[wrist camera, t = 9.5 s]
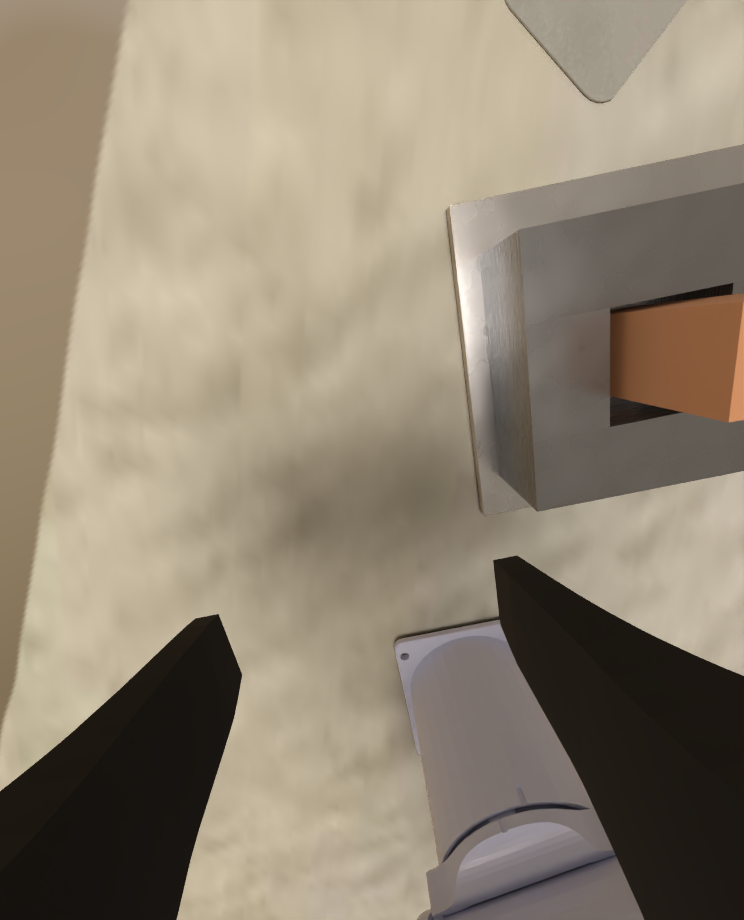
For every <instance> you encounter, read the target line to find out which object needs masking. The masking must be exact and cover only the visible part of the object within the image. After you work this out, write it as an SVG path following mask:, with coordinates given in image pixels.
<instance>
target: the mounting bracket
mask: <svg viewBox="0 0 744 920" xmlns="http://www.w3.org/2000/svg"><path fill="white" fill-rule="evenodd" d="M686 1H687V0H505V2H506V4H507V6H508V7H509V9H510V10H511V12H512V13H513V14H514V15H515V16H516V17H517V18H518V20H519V21H520V22H521V23H522V24H523V25H524V27H525V28H526V29H527V30H528V31H529V32H530V33H531V35H532V36H533V37H534V38H535V39H536V40H537V41H538V43H539V44H540V45H541V46H542V47H543V48H544V50H545V51H546V52H547V53H548V54H549V55H550V56H551V58H552V59H553V60H554V61H555V62H556V63H557V64H558V66H559V67H560V68H561V69H562V70H563V71H564V73H565V74H566V75H567V76H568V77H569V78H570V79H571V81H572V82H573V83H574V84H575V85H576V86H577V88H578V89H579V90H580V91H581V92H582V93H583V94H584V96H586V97H587V98H588V99H590V100H592V101H594V102H597V103H603V102H607V101H610V100H611V99H612V98H613V97H614V96H615V94H616V93H617V92H618V90H619V89H620V88H621V86H622V85H623V84H624V82H625V81H626V80H627V79H628V77H629V76H630V75H631V73H632V72H633V71H634V69H635V68H636V67H637V65H638V64H639V63H640V61H641V60H642V59H643V57H644V56H645V55H646V53H647V52H648V51H649V49H650V48H651V47H652V46H653V44H654V43H655V42H656V40H657V39H658V38H659V36H660V35H661V34H662V32H663V31H664V30H665V28H666V27H667V26H668V24H669V23H670V22H671V20H672V19H673V18H674V16H675V15H676V14H677V13H678V11H679V10H680V9H681V7H682V6H683V5H684V3H685V2H686Z"/></svg>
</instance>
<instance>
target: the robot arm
mask: <svg viewBox="0 0 744 920" xmlns="http://www.w3.org/2000/svg"><path fill="white" fill-rule="evenodd" d="M493 562H494V571H495V580H496V589H497V599H498V608H499V617H500V620H495V621H489V622H484V623H479V624H474V625H469V626H464V627H459V628H453V629H448V630H443V631H438V632H433V633H428V634H422V635H417V636H412V637H407V638H402V639H399V640H397V641H396V642H395V644H394V649H395V654H396V659H397V663H398V668H399V672H400V677H401V681H402V686H403V690H404V695H405V699H406V704H407V708H408V713H409V717H410V722H411V726H412V731H413V735H414V740H415V744H416V749H417V753H418V755H419V756H421V758H422V764H423V770H424V776H425V782H426V788H427V794H428V800H429V806H430V812H431V818H432V825H433V831H434V837H435V843H436V849H437V855H438V861H439V866H437V867H436V868H434V869H431V870H429V871H428V872H427V873H426V875H427V883H428V890H429V897H430V905H431V909H430V910H427V911H425V912H423V913H422V914H421V915H419V917H418V919H417V920H744V676H742V675H740V674H737V673H735V672H732V671H730V670H727V669H725V668H723V667H720V666H718V665H716V664H713V663H711V662H709V661H706V660H704V659H702V658H699V657H697V656H695V655H693V654H691V653H689V652H686V651H684V650H682V649H680V648H678V647H676V646H674V645H671V644H669V643H667V642H665V641H663V640H661V639H659V638H657V637H655V636H653V635H651V634H649V633H647V632H645V631H643V630H641V629H639V628H637V627H635V626H633V625H631V624H629V623H627V622H626V621H624V620H622V619H620V618H618V617H616V616H614V615H613V614H611V613H609V612H607V611H605V610H604V609H602V608H600V607H598V606H597V605H595V604H593V603H591V602H590V601H588V600H586V599H585V598H583V597H581V596H580V595H578V594H576V593H575V592H573V591H571V590H570V589H568V588H567V587H565V586H563V585H562V584H560V583H559V582H557V581H556V580H554V579H552V578H551V577H549V576H548V575H546V574H545V573H543V572H542V571H540V570H539V569H537V568H535V567H534V566H532V565H531V564H529V563H528V562H526V561H525V560H523V559H522V558H520V557H518V556H513V557H507V558H502V559H497V560H493ZM403 653H407V654H405V655H402V654H403ZM241 678H242V673H241V671H240V668H239V666H238V663H237V660H236V658H235V655H234V653H233V650H232V648H231V645H230V643H229V640H228V637H227V635H226V632H225V630H224V627H223V625H222V622H221V620H220V617H219V614H217V615H212V616H207V617H201V618H196V619H195V620H193V621H192V622H191V623H190V624H189V625H187V626H186V627H185V628H184V629H183V630H182V631H181V632H180V633H179V634H177V635H176V636H175V637H174V638H173V639H172V640H171V641H170V642H169V643H168V644H167V645H166V646H165V647H164V648H163V649H162V650H161V651H160V652H159V653H158V654H156V655H155V656H154V657H153V658H152V659H151V660H150V661H149V662H148V663H147V664H146V665H145V666H144V667H143V668H142V669H141V670H140V671H139V672H138V673H137V674H136V675H135V676H133V677H132V678H131V679H130V680H129V681H128V682H127V683H126V684H125V685H124V686H123V687H122V688H121V689H120V690H119V691H118V692H117V693H115V694H114V695H113V696H112V697H111V698H110V699H109V700H108V701H107V702H105V703H104V704H103V705H102V706H101V707H100V708H99V709H98V710H97V711H95V712H94V713H93V714H92V715H91V716H90V717H89V718H88V719H87V720H85V721H84V722H83V723H82V724H81V725H80V726H79V727H78V728H77V729H76V730H74V731H73V732H72V733H71V734H70V735H69V736H68V737H66V738H65V739H64V740H63V741H62V742H61V743H59V744H58V745H57V746H56V747H55V748H53V749H52V750H51V751H50V752H49V753H47V754H46V755H45V756H44V757H43V758H41V759H40V760H39V761H38V762H36V763H35V764H34V765H33V766H31V767H30V768H29V769H28V770H26V771H25V772H24V773H23V774H22V775H20V776H19V777H18V778H17V779H15V780H14V781H13V782H12V783H10V784H9V785H8V786H6V787H5V788H4V789H3V790H1V791H0V920H176V919H177V915H178V911H179V907H180V902H181V898H182V894H183V889H184V885H185V881H186V877H187V872H188V868H189V864H190V860H191V856H192V852H193V849H194V845H195V842H196V838H197V834H198V831H199V828H200V824H201V821H202V818H203V815H204V812H205V809H206V806H207V802H208V799H209V796H210V793H211V790H212V787H213V784H214V780H215V777H216V774H217V771H218V768H219V765H220V762H221V758H222V755H223V752H224V749H225V746H226V742H227V739H228V736H229V733H230V729H231V726H232V723H233V719H234V715H235V710H236V705H237V700H238V695H239V689H240V684H241Z"/></svg>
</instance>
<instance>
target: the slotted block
mask: <svg viewBox="0 0 744 920" xmlns="http://www.w3.org/2000/svg"><path fill="white" fill-rule="evenodd" d="M446 215H447V224H448V233H449V241H450V250H451V259H452V267H453V276H454V285H455V293H456V302H457V311H458V319H459V328H460V337H461V345H462V354H463V363H464V372H465V380H466V389H467V398H468V406H469V415H470V424H471V432H472V441H473V450H474V458H475V467H476V476H477V484H478V493H479V502H480V510H481V512H482V514H483V515H484V516H488V515H493V514H498V513H503V512H508V511H513V510H518V509H523V508H528V507H533V508H534V509H535V510H536V511H537V512H538V511H543V510H548V509H553V508H558V507H563V506H568V505H573V504H578V503H583V502H588V501H593V500H599V499H604V498H609V497H614V496H619V495H624V494H629V493H634V492H639V491H644V490H649V489H654V488H659V487H664V486H669V485H675V484H680V483H685V482H690V481H695V480H700V479H705V478H710V477H715V476H720V475H725V474H730V473H735V472H740V471H744V420H740V421H735V422H729V423H728V422H724V421H719V420H715V419H710V418H706V417H701V416H697V415H693V414H688V413H684V412H679V411H675V410H670V409H666V408H661V407H657V406H652V405H648V404H643V403H639V402H635V401H630V400H626V399H621V398H617V397H612V396H610V310H614V309H619V308H625V307H630V306H637V305H646V304H655V303H663V302H672V301H681V300H689V299H698V298H707V297H715V296H724V295H733V294H741V293H744V144H743V145H738V146H734V147H729V148H724V149H719V150H714V151H710V152H705V153H700V154H695V155H690V156H686V157H681V158H676V159H671V160H667V161H662V162H657V163H652V164H647V165H643V166H638V167H633V168H628V169H623V170H619V171H614V172H609V173H604V174H600V175H595V176H590V177H585V178H580V179H576V180H571V181H566V182H561V183H556V184H552V185H547V186H542V187H537V188H532V189H528V190H523V191H518V192H513V193H509V194H504V195H499V196H494V197H489V198H485V199H480V200H475V201H470V202H465V203H461V204H456V205H451V206H449V207H448V209H447V210H446Z"/></svg>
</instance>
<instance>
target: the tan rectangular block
mask: <svg viewBox="0 0 744 920" xmlns="http://www.w3.org/2000/svg"><path fill="white" fill-rule="evenodd" d="M610 396H612V397H617V398H621V399H626V400H630V401H635V402H639V403H643V404H648V405H652V406H657V407H661V408H666V409H670V410H675V411H679V412H684V413H688V414H693V415H697V416H701V417H706V418H710V419H715V420H719V421H724V422H728V423H729V422H735V421H740V420H744V293H741V294H733V295H724V296H715V297H707V298H698V299H689V300H681V301H672V302H663V303H655V304H646V305H637V306H630V307H625V308H619V309H614V310H610Z"/></svg>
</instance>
